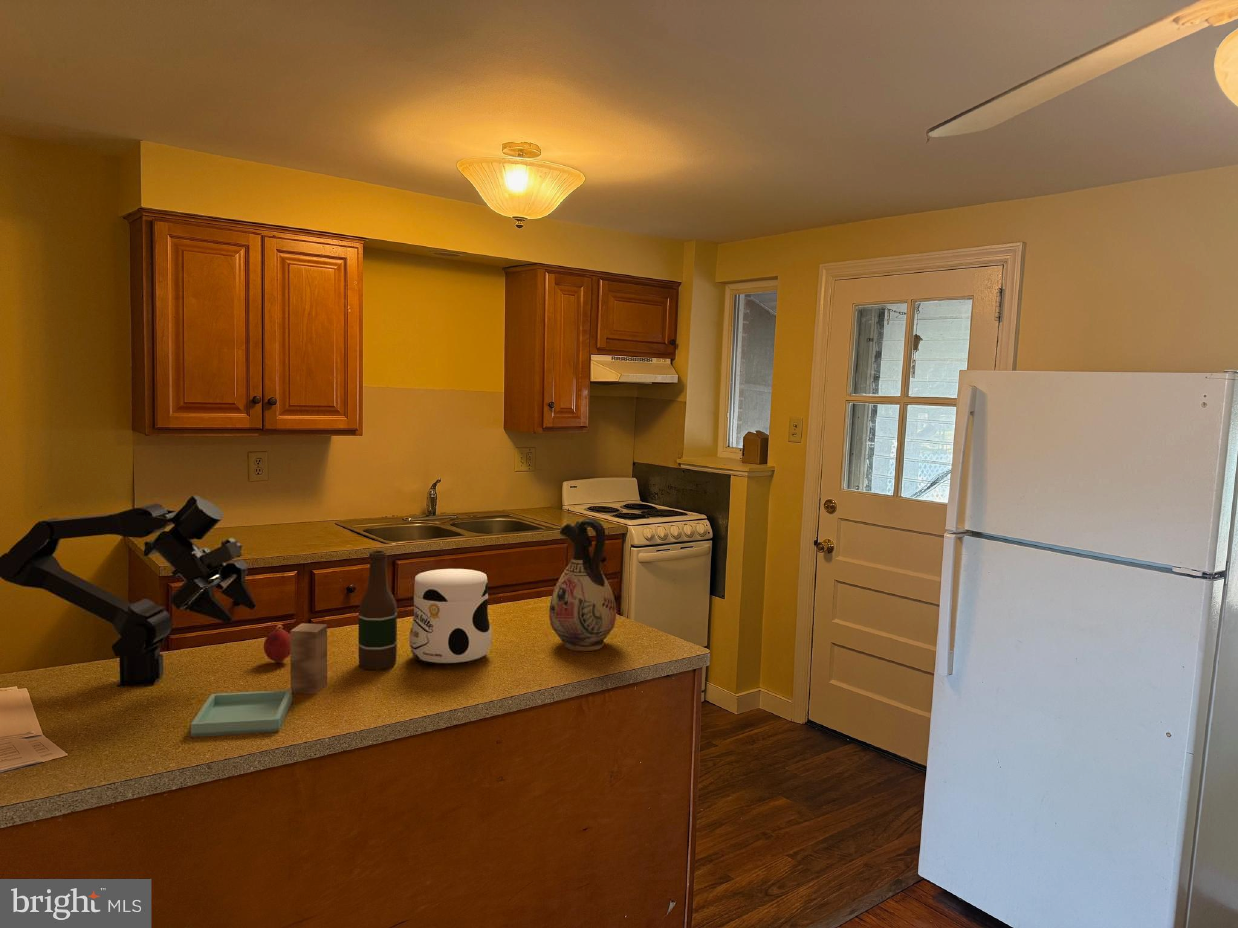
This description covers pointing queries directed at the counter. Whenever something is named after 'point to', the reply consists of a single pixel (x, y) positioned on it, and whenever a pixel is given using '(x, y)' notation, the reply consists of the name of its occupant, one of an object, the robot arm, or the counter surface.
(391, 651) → the beer bottle
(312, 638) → the walnut block
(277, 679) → the counter surface
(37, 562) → the robot arm
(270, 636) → the onion
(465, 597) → the milk container
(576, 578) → the ceramic jug
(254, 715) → the teal tray
